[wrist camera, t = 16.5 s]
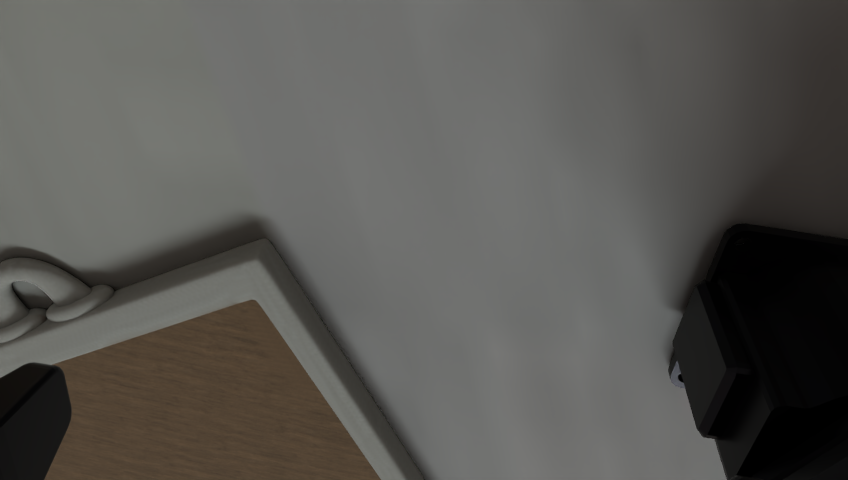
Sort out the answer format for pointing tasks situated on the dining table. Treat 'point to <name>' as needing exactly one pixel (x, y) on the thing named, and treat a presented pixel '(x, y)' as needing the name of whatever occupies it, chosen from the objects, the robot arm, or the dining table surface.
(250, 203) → the dining table surface
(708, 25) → the dining table surface
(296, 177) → the dining table surface
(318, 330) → the picture frame
